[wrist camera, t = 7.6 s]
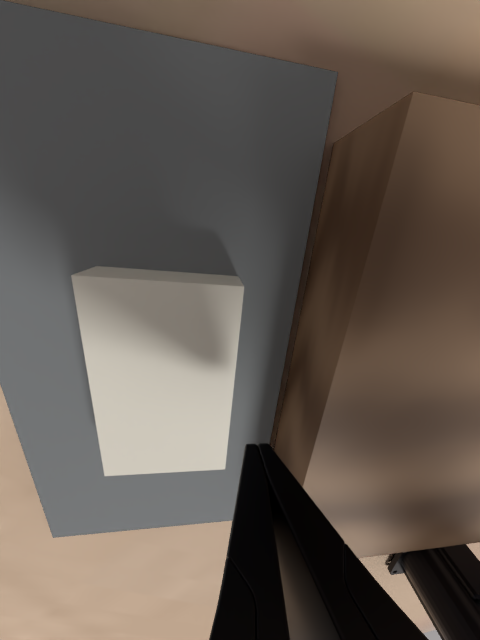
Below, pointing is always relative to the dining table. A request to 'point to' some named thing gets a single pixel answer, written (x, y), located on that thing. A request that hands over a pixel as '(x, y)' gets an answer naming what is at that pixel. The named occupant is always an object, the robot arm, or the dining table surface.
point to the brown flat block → (393, 335)
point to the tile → (160, 365)
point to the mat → (144, 233)
